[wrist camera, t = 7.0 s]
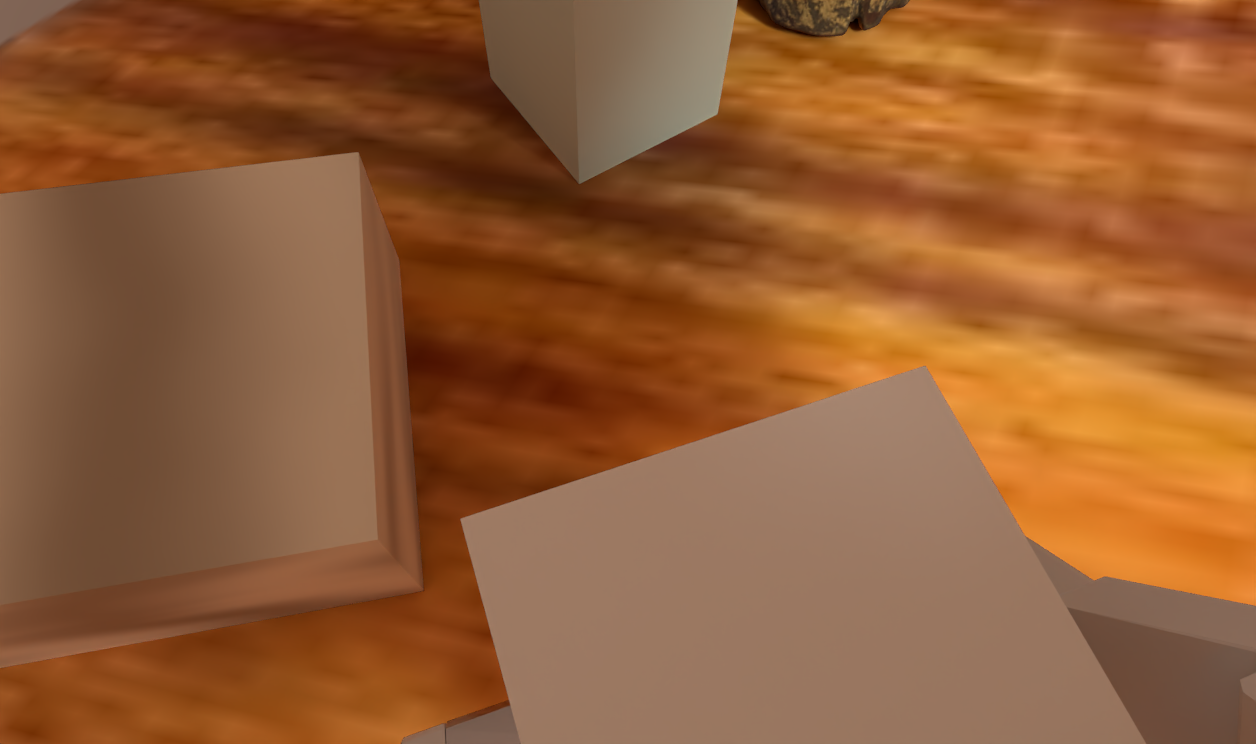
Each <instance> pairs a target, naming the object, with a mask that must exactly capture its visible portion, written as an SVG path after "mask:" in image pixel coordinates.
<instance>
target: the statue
mask: <svg viewBox="0 0 1256 744" xmlns="http://www.w3.org/2000/svg"><path fill="white" fill-rule="evenodd" d="M908 2H909V0H760V5H761V6H762V7H763V9H764V10H765V11H767V12H768V14H769V16H770V18H771V20H772V21H773V22H774V23H775V24H778V25H781V26H783V27H786V28H789V29H793V30H797V31H801V32H803V33H806V34H810V35H816V36H840V35H843V34H845V32H846V31H847V29H848V26H849V23H850V22H852V21H854V19H855V18H858V22H859V26H860V28H861V29H862V30H867V29H870V28H872V27H875V26H876V25H878V24H879V23H880V21H881V19H882V17H883V16H884V15H885V13H886V12H887V11H888V10H890V9H891V8H901V7H904V6H905V5H906V4H907V3H908Z"/></svg>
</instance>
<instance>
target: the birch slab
mask: <svg viewBox="0 0 1256 744" xmlns="http://www.w3.org/2000/svg"><path fill="white" fill-rule="evenodd" d="M421 591H424V585H423V572H422V559H421V545H420V532H419V518H418V505H417V491H416V478H415V465H414V451H413V438H412V424H411V411H410V398H409V384H408V371H407V357H406V344H405V331H404V317H403V304H402V290H401V277H400V264H399V258H398V256H397V253H396V250H395V248H394V245H393V242H392V240H391V237H390V234H389V232H388V229H387V226H386V224H385V221H384V218H383V216H382V213H381V210H380V208H379V205H378V202H377V200H376V197H375V195H374V192H373V189H372V187H371V184H370V181H369V179H368V176H367V173H366V171H365V168H364V165H363V163H362V160H361V157H360V155H359V152H355V153H346V154H338V155H329V156H320V157H312V158H303V159H295V160H286V161H278V162H269V163H260V164H252V165H243V166H235V167H226V168H218V169H209V170H200V171H192V172H183V173H175V174H166V175H157V176H149V177H140V178H132V179H123V180H115V181H106V182H97V183H89V184H80V185H72V186H63V187H55V188H46V189H37V190H29V191H20V192H12V193H3V194H0V668H3V667H9V666H14V665H20V664H25V663H31V662H36V661H42V660H47V659H53V658H58V657H64V656H69V655H75V654H80V653H86V652H91V651H97V650H102V649H108V648H113V647H119V646H124V645H130V644H135V643H141V642H146V641H152V640H157V639H163V638H168V637H174V636H179V635H185V634H190V633H196V632H201V631H207V630H212V629H217V628H223V627H228V626H234V625H239V624H245V623H250V622H256V621H261V620H267V619H272V618H278V617H283V616H289V615H294V614H300V613H305V612H311V611H316V610H322V609H327V608H333V607H338V606H344V605H349V604H355V603H360V602H366V601H371V600H377V599H382V598H388V597H393V596H399V595H404V594H410V593H415V592H421Z"/></svg>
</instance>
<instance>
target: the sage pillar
mask: <svg viewBox="0 0 1256 744" xmlns="http://www.w3.org/2000/svg"><path fill="white" fill-rule="evenodd" d="M737 1H738V0H479V5H480V11H481V18H482V24H483V31H484V37H485V44H486V51H487V57H488V64H489V70H490V77H491V79H492V80H493V81H494V82H495V84H496V85H497V86H498V87H499V88H500V90H501V91H502V92H503V93H504V94H505V96H506V97H507V98H508V99H509V100H510V102H511V103H512V104H513V105H514V106H515V108H516V109H517V110H518V111H519V112H520V114H521V115H522V116H523V117H524V118H525V120H526V121H527V122H528V123H529V124H530V126H531V127H532V128H533V129H534V131H535V132H536V133H537V134H538V135H539V137H540V138H541V139H542V140H543V141H544V143H545V144H546V145H547V146H548V147H549V149H550V150H551V151H552V152H553V153H554V155H555V156H556V157H557V158H558V159H559V161H560V162H561V163H562V164H563V165H564V167H565V168H566V169H567V170H568V171H569V173H570V174H571V175H572V176H573V177H574V179H575V180H576V181H577V182H578V183H579V184H580V183H582V182H584V181H586V180H588V179H590V178H592V177H594V176H596V175H598V174H600V173H602V172H604V171H606V170H608V169H610V168H612V167H614V166H616V165H618V164H620V163H622V162H624V161H626V160H628V159H630V158H632V157H634V156H636V155H638V154H640V153H642V152H644V151H646V150H648V149H650V148H652V147H653V146H655V145H657V144H659V143H661V142H663V141H665V140H667V139H669V138H671V137H673V136H675V135H677V134H679V133H681V132H683V131H685V130H687V129H689V128H691V127H693V126H695V125H697V124H699V123H701V122H703V121H705V120H707V119H709V118H711V117H713V116H715V115H717V114H718V108H719V102H720V97H721V91H722V86H723V80H724V74H725V69H726V63H727V58H728V52H729V46H730V41H731V35H732V30H733V24H734V18H735V13H736V7H737Z"/></svg>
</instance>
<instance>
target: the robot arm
mask: <svg viewBox="0 0 1256 744" xmlns="http://www.w3.org/2000/svg"><path fill="white" fill-rule="evenodd" d="M1025 537H1026V536H1025ZM1026 539H1027V540H1028V542H1029V544H1030V546H1031V547H1032V549H1033V551H1034V552H1035V554H1036V556H1037V558H1038V559H1039V561H1040V563H1041V564H1042V566H1043V568H1044V570H1045V571H1046V573H1047V575H1048V576H1049V578H1050V580H1051V582H1052V583H1053V585H1054V587H1055V588H1056V590H1057V592H1058V593H1059V595H1060V597H1061V599H1062V600H1063V602H1064V604H1065V605H1066V607H1067V609H1068V611H1069V612H1070V614H1071V616H1072V617H1073V619H1074V621H1075V623H1076V624H1077V626H1078V628H1079V629H1080V631H1081V633H1082V635H1083V636H1084V638H1085V640H1086V641H1087V643H1088V645H1089V647H1090V648H1091V650H1092V652H1093V653H1094V655H1095V657H1096V659H1097V660H1098V662H1099V664H1100V665H1101V667H1102V669H1103V671H1104V672H1105V674H1106V676H1107V677H1108V679H1109V681H1110V682H1111V684H1112V686H1113V688H1114V689H1115V691H1116V693H1117V694H1118V696H1119V698H1120V700H1121V701H1122V703H1123V705H1124V706H1125V708H1126V710H1127V712H1128V713H1129V715H1130V717H1131V718H1132V720H1133V722H1134V724H1135V725H1136V727H1137V729H1138V730H1139V732H1140V734H1141V736H1142V737H1143V739H1144V741H1145V742H1146V744H1256V606H1253V605H1248V604H1243V603H1238V602H1233V601H1228V600H1223V599H1217V598H1212V597H1207V596H1202V595H1197V594H1192V593H1187V592H1182V591H1177V590H1171V589H1166V588H1161V587H1156V586H1151V585H1146V584H1141V583H1136V582H1131V581H1125V580H1120V579H1115V578H1110V577H1103V578H1100V579H1097V580H1095V581H1094V580H1092V579H1091V578H1089V577H1088V576H1086V575H1085V574H1083V573H1081V572H1080V571H1078V570H1077V569H1075V568H1074V567H1072V566H1071V565H1069V564H1068V563H1066V562H1064V561H1063V560H1061V559H1060V558H1058V557H1057V556H1055V555H1054V554H1052V553H1051V552H1049V551H1048V550H1046V549H1044V548H1043V547H1041V546H1040V545H1038V544H1037V543H1035V542H1034V541H1032V540H1031V539H1029V538H1027V537H1026ZM401 744H521V743H520V739H519V735H518V732H517V728H516V724H515V721H514V717H513V713H512V709H511V706H510V702H509V700H507V701H505V702H502V703H499V704H496V705H493V706H490V707H487V708H485V709H482V710H479V711H476V712H473V713H470V714H467V715H464V716H462V717H459V718H456V719H453V720H450V721H447V723H443V724H440V725H437V726H435V727H432V728H429V729H426V730H424V731H421V732H418V733H415V734H412V735H410V736H407V737H404V738H403V740H402V742H401Z"/></svg>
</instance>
